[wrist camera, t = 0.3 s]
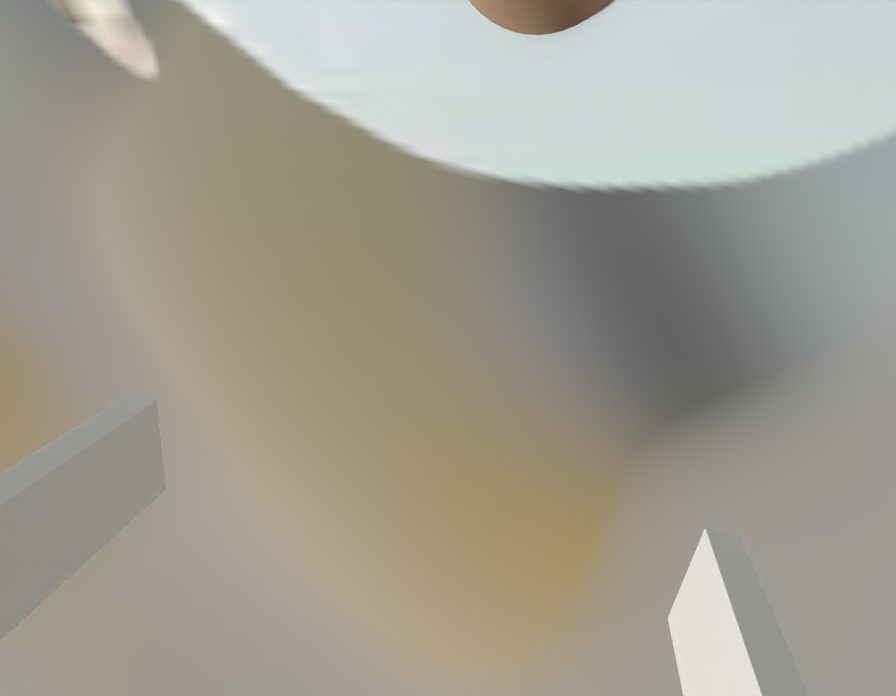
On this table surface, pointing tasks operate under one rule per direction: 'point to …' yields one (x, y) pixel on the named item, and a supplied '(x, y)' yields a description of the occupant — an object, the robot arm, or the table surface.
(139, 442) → the robot arm
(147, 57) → the table surface
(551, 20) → the coaster
